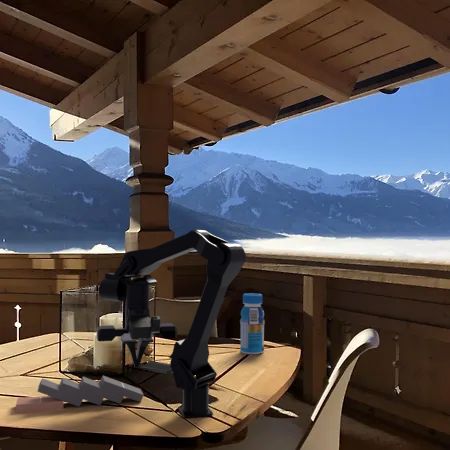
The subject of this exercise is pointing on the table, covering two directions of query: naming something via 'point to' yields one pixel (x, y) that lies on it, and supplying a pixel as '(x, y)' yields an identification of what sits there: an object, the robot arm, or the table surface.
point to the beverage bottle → (252, 324)
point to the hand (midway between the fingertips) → (136, 367)
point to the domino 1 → (38, 404)
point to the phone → (157, 367)
